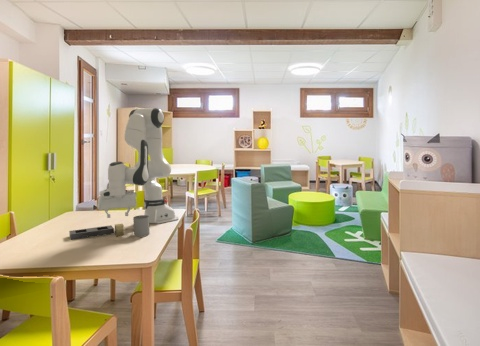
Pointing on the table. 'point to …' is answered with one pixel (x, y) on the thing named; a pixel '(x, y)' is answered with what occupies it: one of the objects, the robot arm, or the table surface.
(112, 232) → the rail
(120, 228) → the block
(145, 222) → the cup
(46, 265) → the table surface
